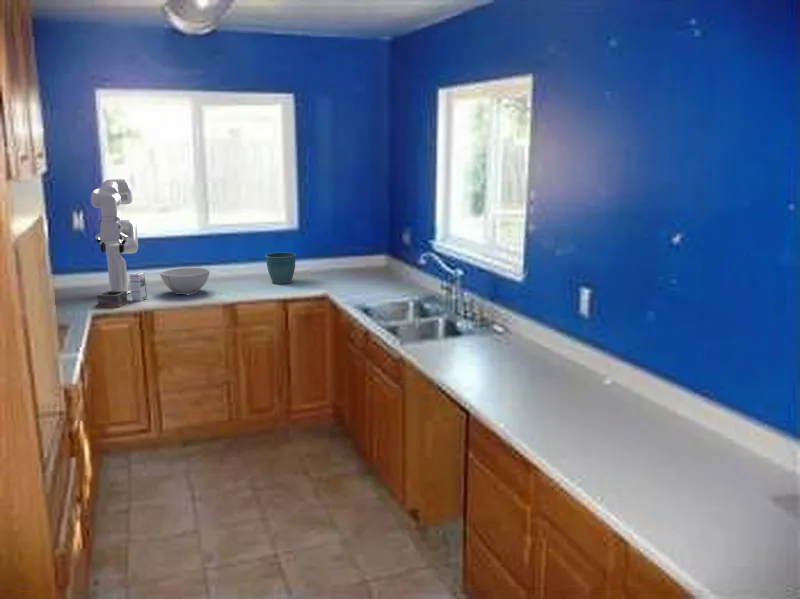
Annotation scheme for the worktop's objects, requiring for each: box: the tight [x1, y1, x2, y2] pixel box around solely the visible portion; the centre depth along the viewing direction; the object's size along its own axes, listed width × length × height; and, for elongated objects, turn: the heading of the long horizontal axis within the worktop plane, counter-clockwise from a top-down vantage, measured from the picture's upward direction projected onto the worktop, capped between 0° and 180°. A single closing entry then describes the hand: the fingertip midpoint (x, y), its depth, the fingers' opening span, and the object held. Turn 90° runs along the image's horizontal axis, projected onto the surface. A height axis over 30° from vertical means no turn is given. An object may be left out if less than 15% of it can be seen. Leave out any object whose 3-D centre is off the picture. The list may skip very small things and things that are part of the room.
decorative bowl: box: [159, 266, 211, 295], centre depth 404 cm, size 27×27×12 cm
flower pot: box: [264, 251, 297, 285], centre depth 432 cm, size 18×18×17 cm
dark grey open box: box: [95, 290, 131, 309], centre depth 377 cm, size 13×13×6 cm
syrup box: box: [129, 272, 148, 302], centre depth 387 cm, size 6×6×14 cm
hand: (112, 252), depth 372 cm, fingers open, 9 cm apart
